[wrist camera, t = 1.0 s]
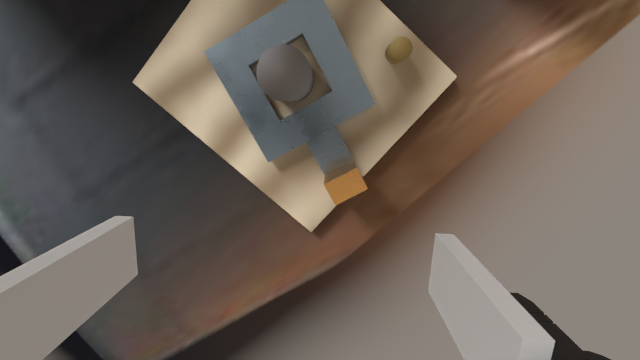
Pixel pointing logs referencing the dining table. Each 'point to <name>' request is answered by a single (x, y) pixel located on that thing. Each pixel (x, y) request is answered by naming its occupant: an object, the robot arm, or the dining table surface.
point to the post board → (299, 165)
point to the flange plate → (312, 120)
